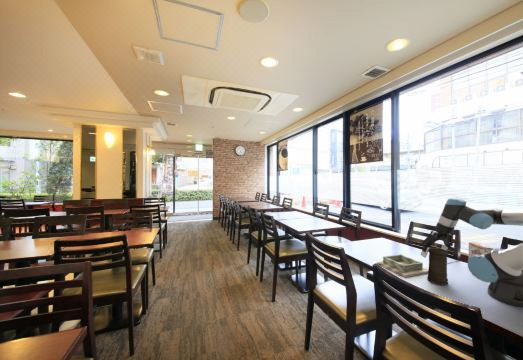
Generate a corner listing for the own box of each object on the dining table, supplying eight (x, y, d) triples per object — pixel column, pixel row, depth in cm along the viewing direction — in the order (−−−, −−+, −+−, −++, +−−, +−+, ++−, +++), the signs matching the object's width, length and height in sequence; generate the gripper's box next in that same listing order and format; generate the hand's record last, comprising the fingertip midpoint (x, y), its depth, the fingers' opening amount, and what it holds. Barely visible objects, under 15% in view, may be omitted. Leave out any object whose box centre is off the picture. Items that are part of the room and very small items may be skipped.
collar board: (429, 272, 129) (429, 264, 129) (404, 277, 123) (404, 268, 123) (399, 260, 148) (400, 252, 148) (377, 263, 143) (377, 255, 143)
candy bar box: (467, 267, 137) (468, 242, 137) (475, 267, 137) (476, 242, 137) (484, 275, 126) (485, 247, 126) (493, 275, 126) (494, 248, 126)
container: (452, 286, 113) (452, 253, 113) (433, 284, 115) (433, 252, 115) (441, 278, 122) (442, 247, 122) (423, 277, 124) (424, 246, 123)
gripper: (456, 220, 123) (442, 250, 130) (422, 220, 118) (409, 252, 125) (470, 227, 117) (455, 259, 123) (435, 227, 111) (420, 260, 118)
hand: (432, 255), depth 124 cm, fingers open, 13 cm apart
